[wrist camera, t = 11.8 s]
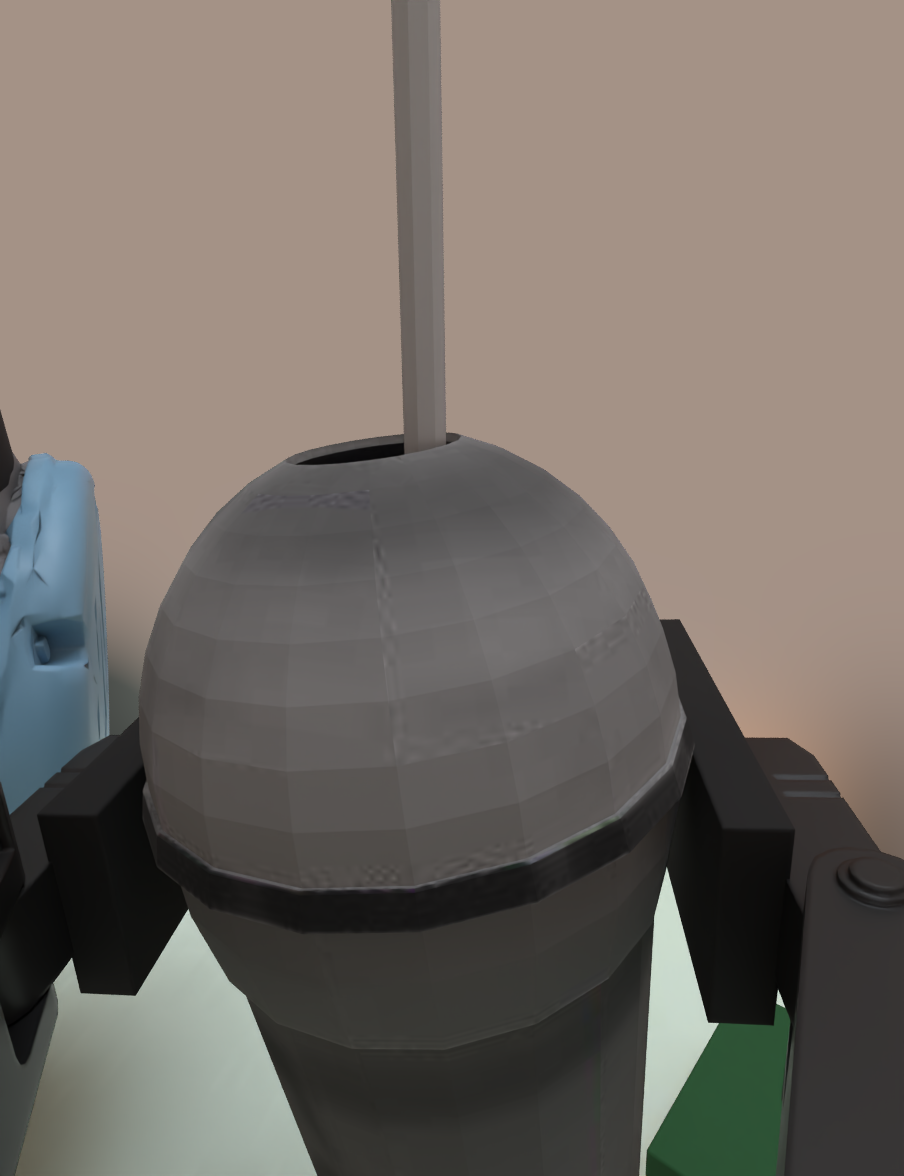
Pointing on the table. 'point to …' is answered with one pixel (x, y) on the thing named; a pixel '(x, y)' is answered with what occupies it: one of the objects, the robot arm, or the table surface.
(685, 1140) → the sponge
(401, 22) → the beverage cup
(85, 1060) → the table surface
